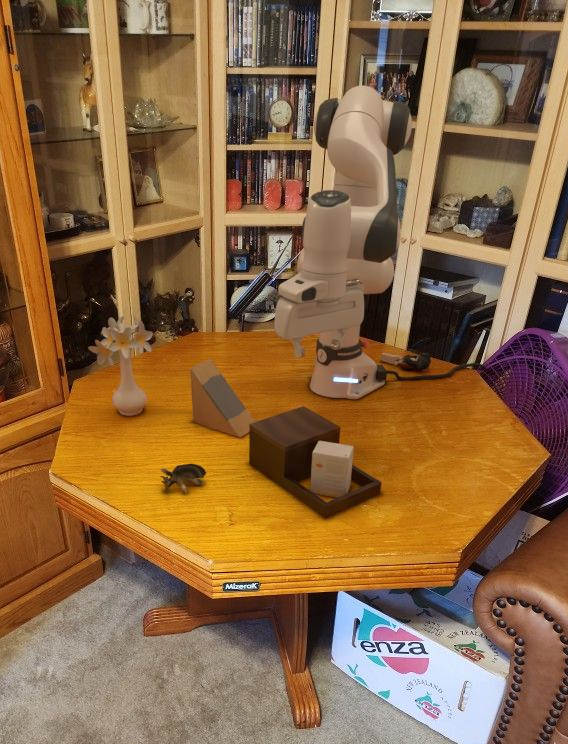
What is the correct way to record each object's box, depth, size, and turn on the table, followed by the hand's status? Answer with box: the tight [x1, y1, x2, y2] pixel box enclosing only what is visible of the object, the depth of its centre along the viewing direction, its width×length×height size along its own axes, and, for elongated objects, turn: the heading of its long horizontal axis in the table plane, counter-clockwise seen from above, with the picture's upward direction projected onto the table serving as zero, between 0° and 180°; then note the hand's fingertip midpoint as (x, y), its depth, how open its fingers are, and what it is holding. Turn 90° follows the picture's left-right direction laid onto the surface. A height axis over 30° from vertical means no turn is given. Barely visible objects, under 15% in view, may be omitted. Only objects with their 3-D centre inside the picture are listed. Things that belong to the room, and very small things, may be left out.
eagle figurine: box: [159, 463, 207, 494], centre depth 145 cm, size 8×7×9 cm
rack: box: [248, 405, 383, 519], centre depth 148 cm, size 16×27×10 cm, turn 36°
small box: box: [309, 441, 355, 499], centre depth 144 cm, size 8×6×10 cm
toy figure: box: [381, 347, 432, 372], centre depth 203 cm, size 7×6×15 cm
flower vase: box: [87, 313, 154, 417], centre depth 171 cm, size 13×18×25 cm
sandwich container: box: [189, 358, 256, 438], centre depth 168 cm, size 9×15×15 cm, turn 56°
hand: (318, 352), depth 136 cm, fingers open, 8 cm apart
